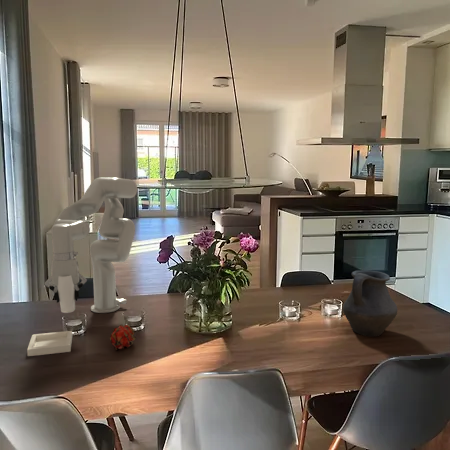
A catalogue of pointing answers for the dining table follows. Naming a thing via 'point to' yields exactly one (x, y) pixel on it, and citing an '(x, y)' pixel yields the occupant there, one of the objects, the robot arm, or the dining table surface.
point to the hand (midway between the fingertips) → (67, 300)
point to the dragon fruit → (122, 336)
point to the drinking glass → (66, 294)
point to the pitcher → (369, 303)
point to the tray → (50, 343)
